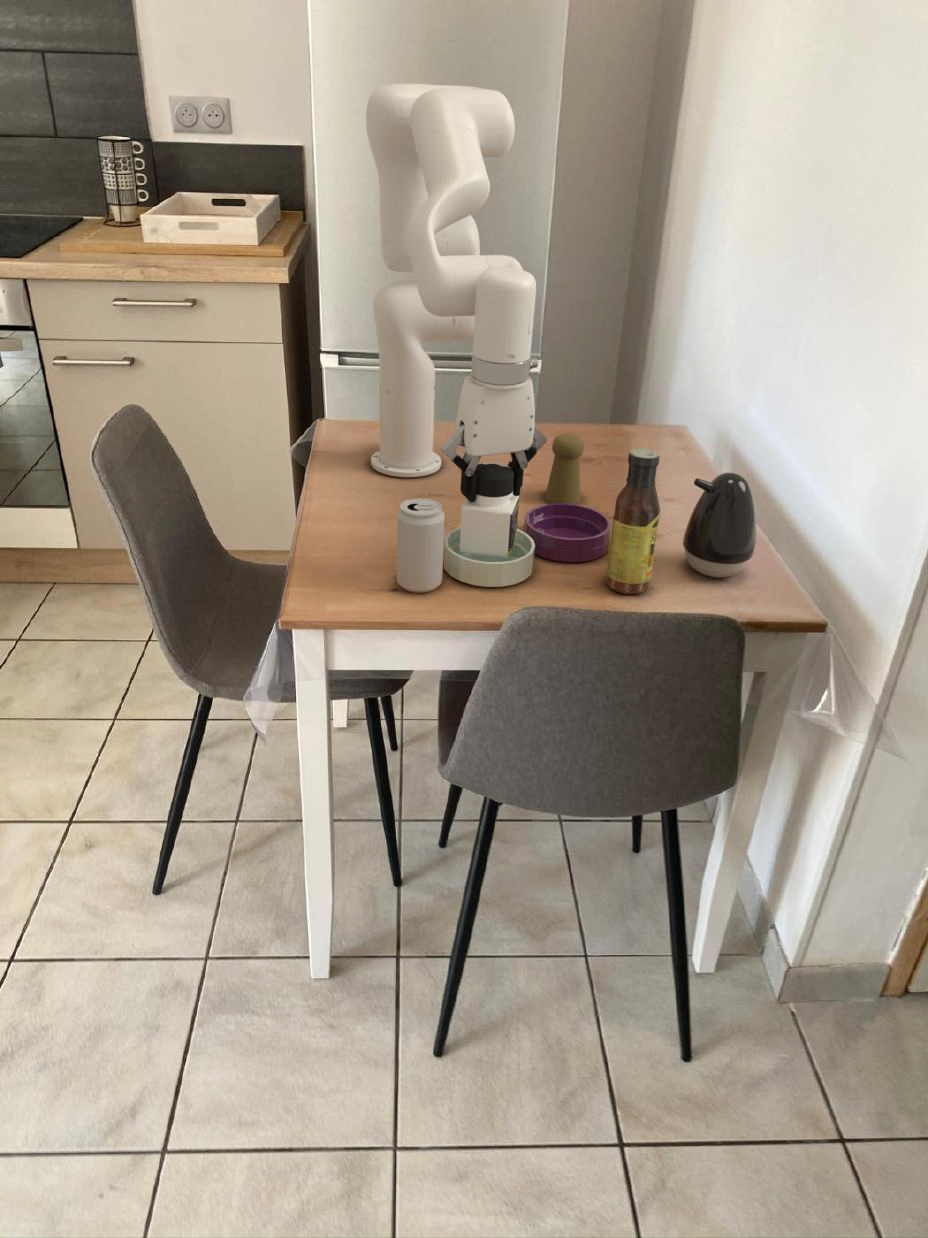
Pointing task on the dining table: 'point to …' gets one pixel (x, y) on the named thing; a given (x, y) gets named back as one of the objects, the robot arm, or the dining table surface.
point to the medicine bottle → (490, 513)
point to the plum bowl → (568, 532)
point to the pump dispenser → (721, 526)
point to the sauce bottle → (635, 526)
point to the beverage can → (420, 544)
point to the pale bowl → (489, 562)
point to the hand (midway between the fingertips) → (491, 494)
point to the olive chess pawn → (565, 470)
